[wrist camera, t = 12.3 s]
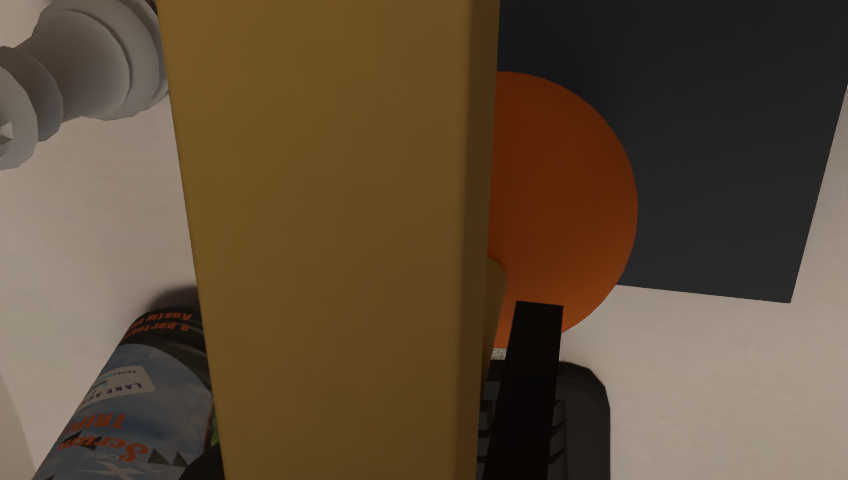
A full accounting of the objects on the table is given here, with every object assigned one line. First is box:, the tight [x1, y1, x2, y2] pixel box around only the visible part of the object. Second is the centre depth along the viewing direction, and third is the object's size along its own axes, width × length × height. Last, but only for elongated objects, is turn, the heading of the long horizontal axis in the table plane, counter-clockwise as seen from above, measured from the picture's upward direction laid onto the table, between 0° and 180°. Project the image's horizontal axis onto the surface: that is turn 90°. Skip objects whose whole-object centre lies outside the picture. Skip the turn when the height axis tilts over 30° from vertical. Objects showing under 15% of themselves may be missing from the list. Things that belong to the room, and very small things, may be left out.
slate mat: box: [496, 0, 848, 303], centre depth 25 cm, size 18×12×1 cm, turn 90°
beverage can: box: [32, 306, 220, 480], centre depth 28 cm, size 6×7×12 cm
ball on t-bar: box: [156, 0, 638, 480], centre depth 15 cm, size 6×22×16 cm, turn 0°
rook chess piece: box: [0, 0, 168, 170], centre depth 24 cm, size 4×4×8 cm
